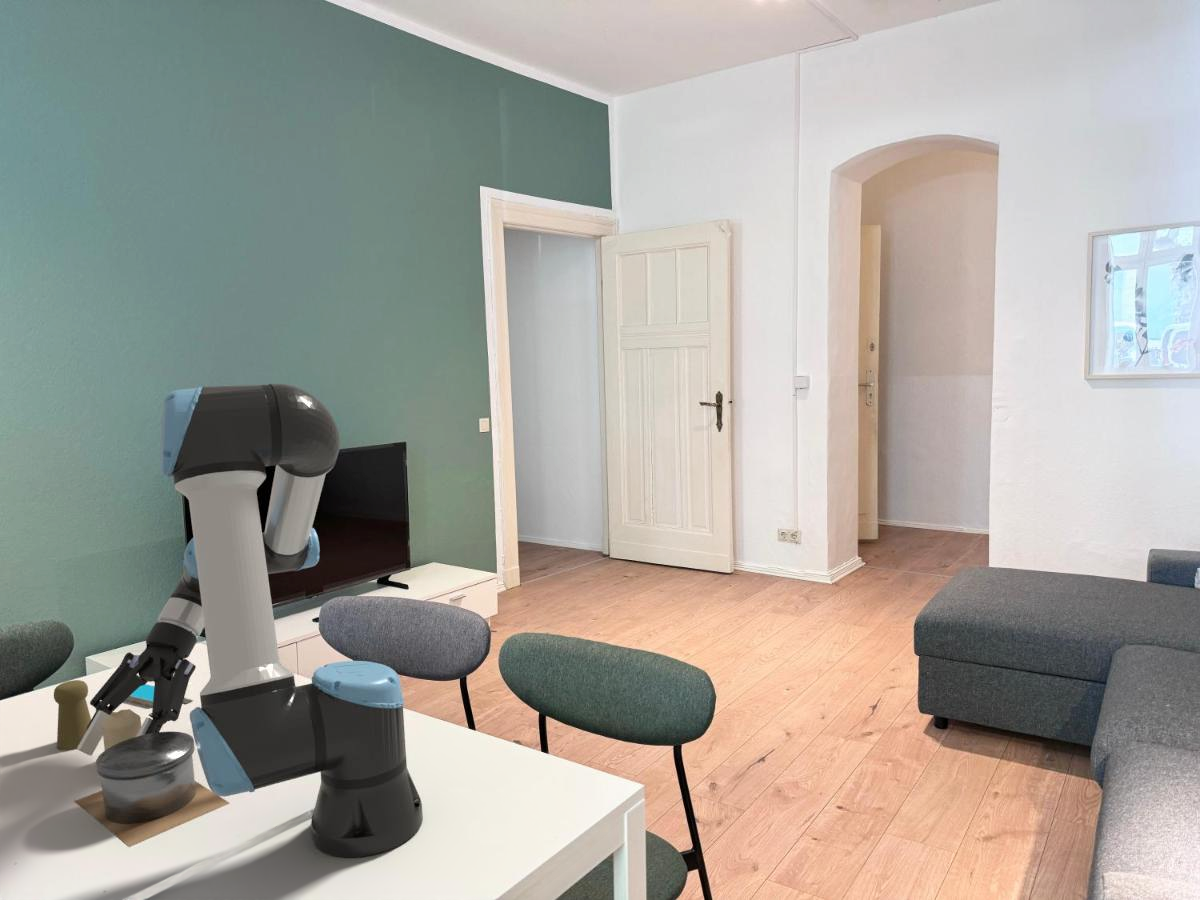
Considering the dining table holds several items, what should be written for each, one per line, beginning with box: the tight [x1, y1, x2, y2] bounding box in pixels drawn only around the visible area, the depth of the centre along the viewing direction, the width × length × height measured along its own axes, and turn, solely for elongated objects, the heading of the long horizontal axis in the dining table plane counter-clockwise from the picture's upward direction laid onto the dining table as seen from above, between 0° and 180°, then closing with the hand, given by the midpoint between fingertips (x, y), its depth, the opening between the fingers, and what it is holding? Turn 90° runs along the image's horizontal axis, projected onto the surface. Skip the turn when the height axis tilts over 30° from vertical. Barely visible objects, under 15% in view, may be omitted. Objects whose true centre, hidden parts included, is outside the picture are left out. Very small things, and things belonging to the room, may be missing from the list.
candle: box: [102, 708, 142, 751], centre depth 141 cm, size 6×6×10 cm
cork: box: [53, 679, 92, 751], centre depth 152 cm, size 6×6×11 cm
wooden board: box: [73, 780, 230, 848], centre depth 128 cm, size 20×14×2 cm
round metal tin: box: [95, 731, 196, 824], centre depth 128 cm, size 13×13×8 cm
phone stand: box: [125, 681, 194, 708], centre depth 174 cm, size 20×12×2 cm, turn 62°
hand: (107, 756), depth 138 cm, fingers open, 10 cm apart
